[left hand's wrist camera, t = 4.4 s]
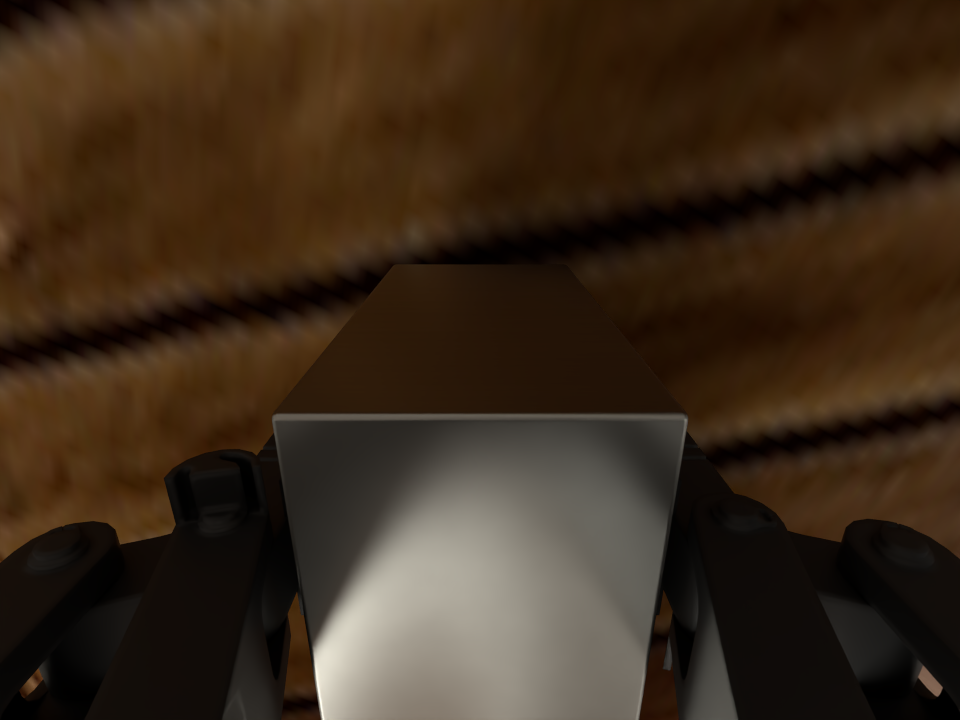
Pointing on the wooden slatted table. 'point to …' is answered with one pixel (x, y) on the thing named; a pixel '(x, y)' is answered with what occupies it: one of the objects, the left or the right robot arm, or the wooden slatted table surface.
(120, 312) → the wooden slatted table surface
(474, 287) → the bar
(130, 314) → the wooden slatted table surface
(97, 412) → the wooden slatted table surface
